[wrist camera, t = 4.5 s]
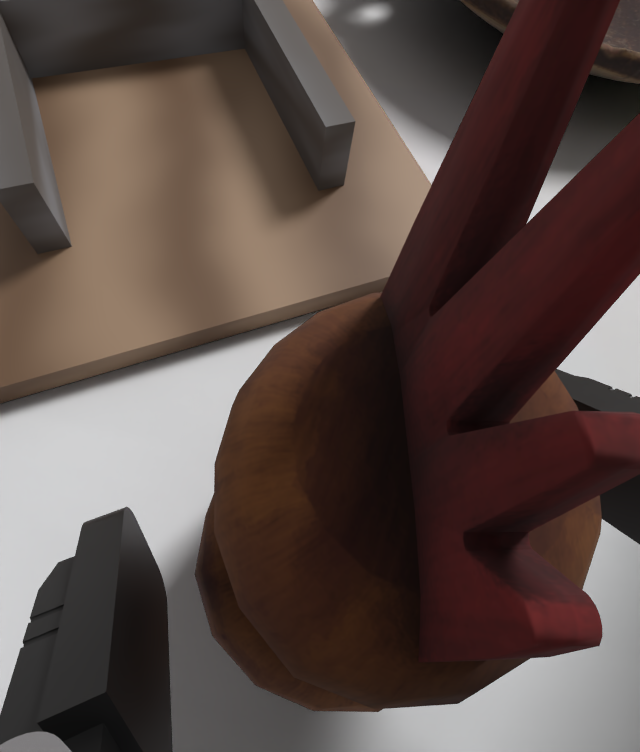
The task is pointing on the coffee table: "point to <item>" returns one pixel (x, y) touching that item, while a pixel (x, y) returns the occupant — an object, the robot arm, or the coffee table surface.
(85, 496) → the coffee table surface
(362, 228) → the keeper cradle
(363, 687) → the wooden figurine
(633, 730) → the coffee table surface
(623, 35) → the oil lamp
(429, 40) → the coffee table surface
